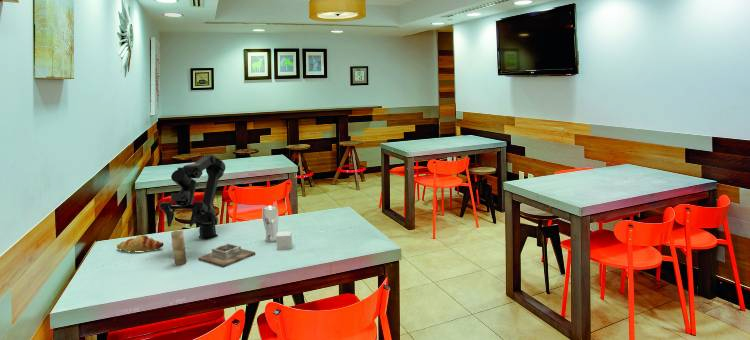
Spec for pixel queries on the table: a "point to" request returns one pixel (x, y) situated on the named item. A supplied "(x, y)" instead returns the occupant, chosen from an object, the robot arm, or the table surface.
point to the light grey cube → (284, 240)
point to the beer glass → (270, 222)
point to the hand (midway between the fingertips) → (179, 226)
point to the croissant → (140, 244)
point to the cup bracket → (226, 255)
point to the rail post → (178, 247)
